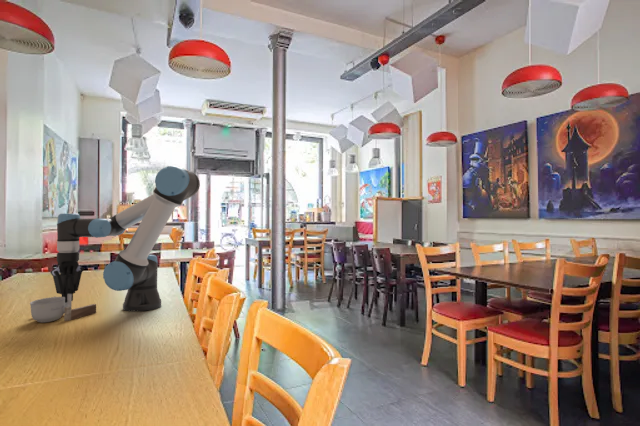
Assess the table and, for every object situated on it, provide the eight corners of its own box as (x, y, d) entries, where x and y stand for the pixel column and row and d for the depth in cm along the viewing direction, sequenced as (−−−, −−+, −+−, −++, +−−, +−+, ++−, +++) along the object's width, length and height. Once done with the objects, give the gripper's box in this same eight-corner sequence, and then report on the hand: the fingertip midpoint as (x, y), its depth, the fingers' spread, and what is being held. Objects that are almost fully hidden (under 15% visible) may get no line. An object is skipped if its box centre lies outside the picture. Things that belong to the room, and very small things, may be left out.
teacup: (55, 323, 137) (55, 302, 137) (22, 325, 136) (23, 302, 136) (74, 314, 151) (74, 294, 151) (45, 315, 149) (45, 295, 150)
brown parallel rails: (96, 312, 153) (96, 300, 153) (67, 321, 141) (67, 307, 141) (64, 309, 158) (64, 298, 158) (33, 317, 146) (33, 304, 146)
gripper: (75, 249, 158) (74, 305, 158) (45, 252, 146) (44, 313, 145) (89, 250, 156) (88, 307, 156) (60, 253, 143) (58, 314, 143)
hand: (67, 310), depth 151 cm, fingers closed
